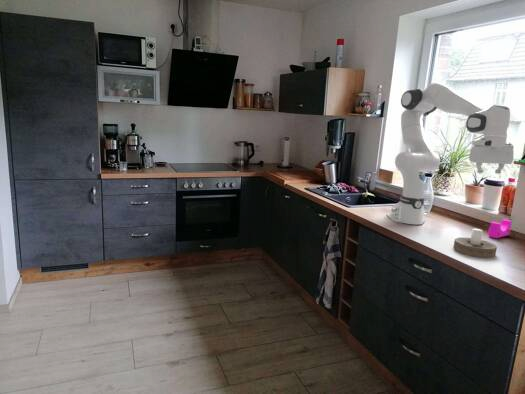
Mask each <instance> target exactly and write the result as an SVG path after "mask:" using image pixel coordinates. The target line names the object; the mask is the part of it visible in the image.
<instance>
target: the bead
mask: <svg viewBox="0 0 525 394" xmlns="http://www.w3.org/2000/svg"><path fill="white" fill-rule="evenodd" d="M470 241H471V237H467V236H466V237H464V236H463V237H457V238H454V242H453V250H454V251H456V252H458V253H460V254H462V255H465V256H469V257H474V258H480V259H481V258H482V259H493V258H494V257H496V256H497V255H496V254H497V248H498V247H497V245H496V244H494V243H492V242H490V241H487V240H484V239H481V243H480V245H473V244H470Z"/></svg>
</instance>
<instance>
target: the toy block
mask: <svg viewBox="0 0 525 394" xmlns="http://www.w3.org/2000/svg"><path fill="white" fill-rule="evenodd" d="M512 222H513V221H512V220H509V219H505V218H504V219H501V223H500V222H496V221H491V222H490V226H489V227H488V232H487V234H488V237H490V238H493V239H500V238H502V237H507V236H509V235H510V234H511V228H512ZM509 233H510V234H509Z"/></svg>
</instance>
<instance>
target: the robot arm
mask: <svg viewBox="0 0 525 394" xmlns="http://www.w3.org/2000/svg"><path fill="white" fill-rule="evenodd" d="M400 98H401V99H400V104H401V107H402V108H404V109H405V110H404V111H403V112H402V113H401V115H400V119H401V120H400V128H401V133H402V134H401V135H402V141H403V144H404V145H405V146H406V147H407V148H408V149H410V151H407V150H406V151H402V152H400V153H398V154H397V155H396V156H395V161H394V165H395V167H396V169H397V170H398V171H399V172H400V174H401V176H402V182H403V183H402V184H403V186H402V187H403V188H402V195H400V196H399V202H397V203H396V204H394V205H393V206H392V207H391V211H390V213H386V216H387V217H388V218H390V219H391V220H392V221H393V222H396V223H403V224H407V225H423V224H424V223H425V222H426V219H424V218H425V207H424V206H423V205H424V204H425V198H424V197H425V189H426V182H424V181H423V180H422V179H421V178H420V173H429V172H433V171H436V170H438V169H439V167H440V164H441V159H440V157H439V155H438V154H437V153H435V152H434V151H433V150H432V148H431V147H430V145H429V144H428V142H427V140H426V135H425V132H424V131H425V129H424V127H423V126H424V125H423V120H422V119H423V116H424V117H427V116H428V115H430V114H431V113H433V112H435V111H436V110H437V109H438V110H440V111H442V112H445V113H449V114H458V115H463V116H466V117H467V118H466V121H465V127H466V130H467V132H469V133H471V134H476V135H477V134H479V135H483V137H481V138H477V139H473V141H472V146H471V148H470V150H469V151H470V152H469V157H468V158H469V159H468V160H469V162H470V163H475V166H476V168H477V170H476V171H477V172H476V173H478V174H483V173H484V169H483V168H482V166H483V164H497V165H498V167H497V168H496V169H495V171H494V173H495V174H496V175H501V173H502V170H503V169H504V168H505V165H511V164H512V163H513V161H514V144H512V143H511V142H507V138H508V128H509V126H510V122H511V121H510V120H511V110H510V108H509V107H508V106H505V105H499V104H491V105H489V107H487V108H485V109H484V108H483V107H481V106H479V105H477V104H475V103H474V102H472V101H470V100H468V98H466V97H465V96H463V95H461V94H460V93H459V92H457V91H456V90H454V89H452V88H451V87H449V86H448V85H446V84H444V83H441V82H438V81H437V82H436V81H435V82H432V83H430V84H428V85H427V87H426V88H425V89H423V90H421V89H420V88H418V89H417V88H416V89H409V90H406V91H404V93H403V94H402V96H401V97H400Z"/></svg>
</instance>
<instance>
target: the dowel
mask: <svg viewBox="0 0 525 394" xmlns="http://www.w3.org/2000/svg"><path fill="white" fill-rule="evenodd" d="M470 235H471V236H470V238H471V241H470V244H473V245H480V243H481V240H482V237H483V229H480V228H472V229H471V234H470Z"/></svg>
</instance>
